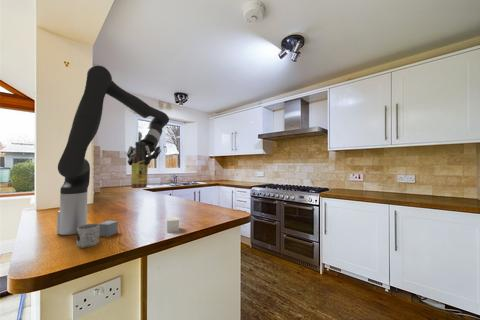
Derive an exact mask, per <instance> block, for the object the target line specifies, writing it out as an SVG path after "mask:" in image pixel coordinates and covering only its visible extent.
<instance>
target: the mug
mask: <svg viewBox="0 0 480 320" xmlns="http://www.w3.org/2000/svg"><path fill="white" fill-rule="evenodd" d="M99 243H100V236H99V223H87V224H86V225H82V226H79V227H78V228H77V233H76V248H78V249H81V248H89V247H94V246H97V245H98V244H99Z"/></svg>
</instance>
